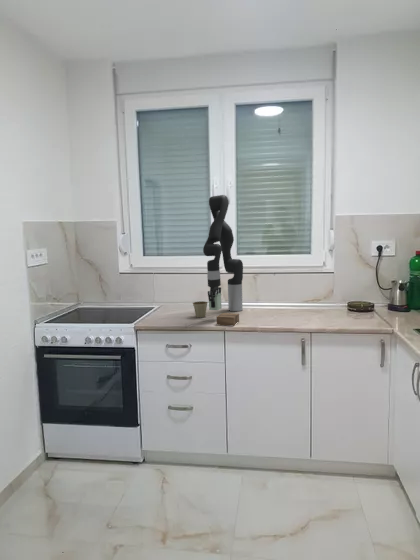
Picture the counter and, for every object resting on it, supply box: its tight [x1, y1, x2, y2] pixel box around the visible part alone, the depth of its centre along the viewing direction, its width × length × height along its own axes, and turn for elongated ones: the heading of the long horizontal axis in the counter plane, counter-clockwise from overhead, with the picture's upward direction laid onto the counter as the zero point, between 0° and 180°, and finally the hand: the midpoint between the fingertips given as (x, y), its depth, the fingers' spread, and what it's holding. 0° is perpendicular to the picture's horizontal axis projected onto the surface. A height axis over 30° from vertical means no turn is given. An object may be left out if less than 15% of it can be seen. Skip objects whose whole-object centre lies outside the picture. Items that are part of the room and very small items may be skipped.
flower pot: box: [192, 300, 209, 318], centre depth 256 cm, size 9×9×9 cm
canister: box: [208, 292, 222, 311], centre depth 246 cm, size 6×6×9 cm
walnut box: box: [216, 312, 240, 327], centre depth 237 cm, size 10×10×5 cm
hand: (215, 306), depth 246 cm, fingers closed on canister, 5 cm apart
